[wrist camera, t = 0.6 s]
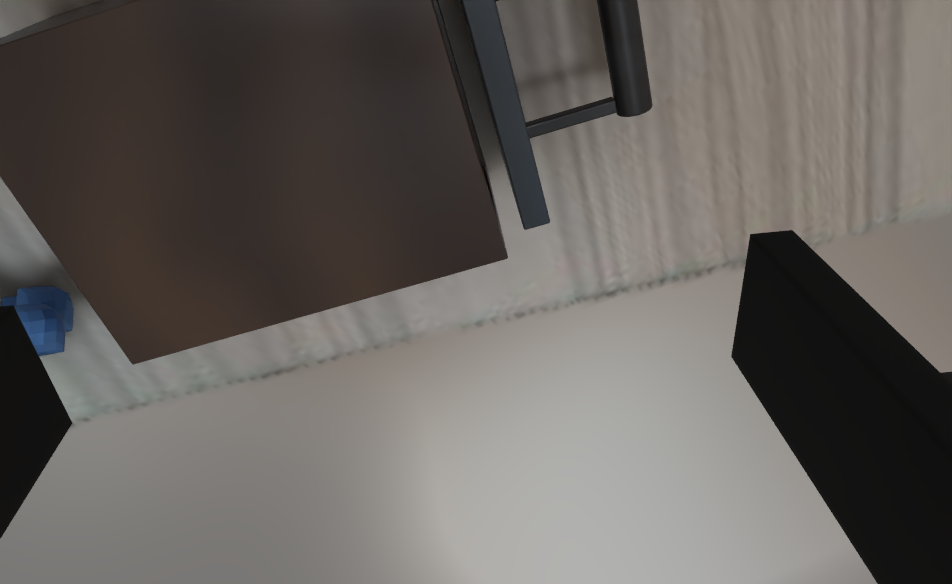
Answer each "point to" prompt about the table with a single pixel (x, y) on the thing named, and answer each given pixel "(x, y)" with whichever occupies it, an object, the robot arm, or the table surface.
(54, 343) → the grapes
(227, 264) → the cabinet
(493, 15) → the drawer
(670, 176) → the table surface
